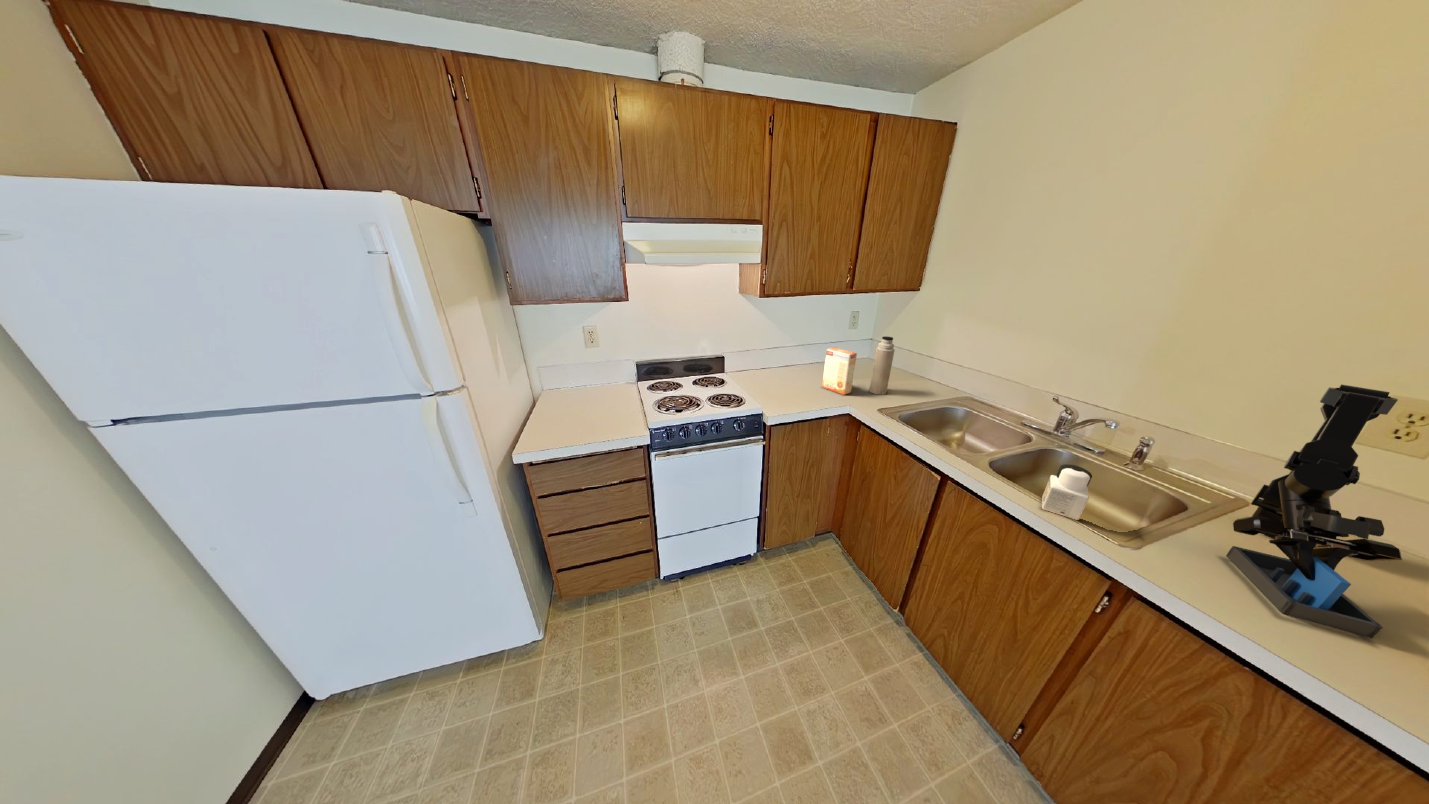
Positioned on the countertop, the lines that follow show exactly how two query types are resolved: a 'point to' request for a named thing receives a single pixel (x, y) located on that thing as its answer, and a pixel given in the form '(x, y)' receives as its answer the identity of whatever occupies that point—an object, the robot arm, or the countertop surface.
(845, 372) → the cracker box
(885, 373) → the thermos bottle
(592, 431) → the countertop surface
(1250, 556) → the dish rack
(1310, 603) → the blue rectangular block
